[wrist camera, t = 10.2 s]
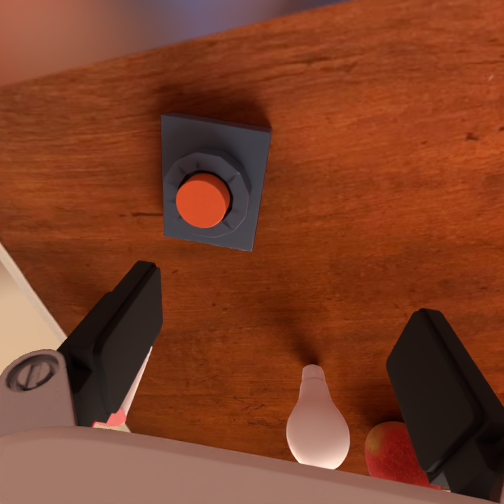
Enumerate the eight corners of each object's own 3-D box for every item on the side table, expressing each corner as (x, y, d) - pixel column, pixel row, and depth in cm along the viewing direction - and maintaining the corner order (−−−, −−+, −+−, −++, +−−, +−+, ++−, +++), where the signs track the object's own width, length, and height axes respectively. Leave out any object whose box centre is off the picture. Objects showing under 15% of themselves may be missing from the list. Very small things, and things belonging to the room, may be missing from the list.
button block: (171, 111, 23) (149, 117, 19) (272, 128, 22) (269, 137, 19) (172, 225, 28) (155, 246, 24) (254, 240, 28) (249, 263, 24)
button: (183, 169, 21) (175, 176, 20) (232, 177, 21) (227, 185, 19) (183, 214, 23) (175, 223, 21) (227, 221, 23) (223, 232, 21)
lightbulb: (349, 366, 35) (370, 472, 25) (313, 388, 38) (320, 490, 28) (311, 341, 33) (318, 443, 24) (277, 365, 36) (272, 465, 27)
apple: (423, 439, 41) (458, 535, 32) (363, 442, 43) (381, 532, 34) (420, 405, 37) (458, 503, 28) (354, 410, 39) (372, 502, 31)
